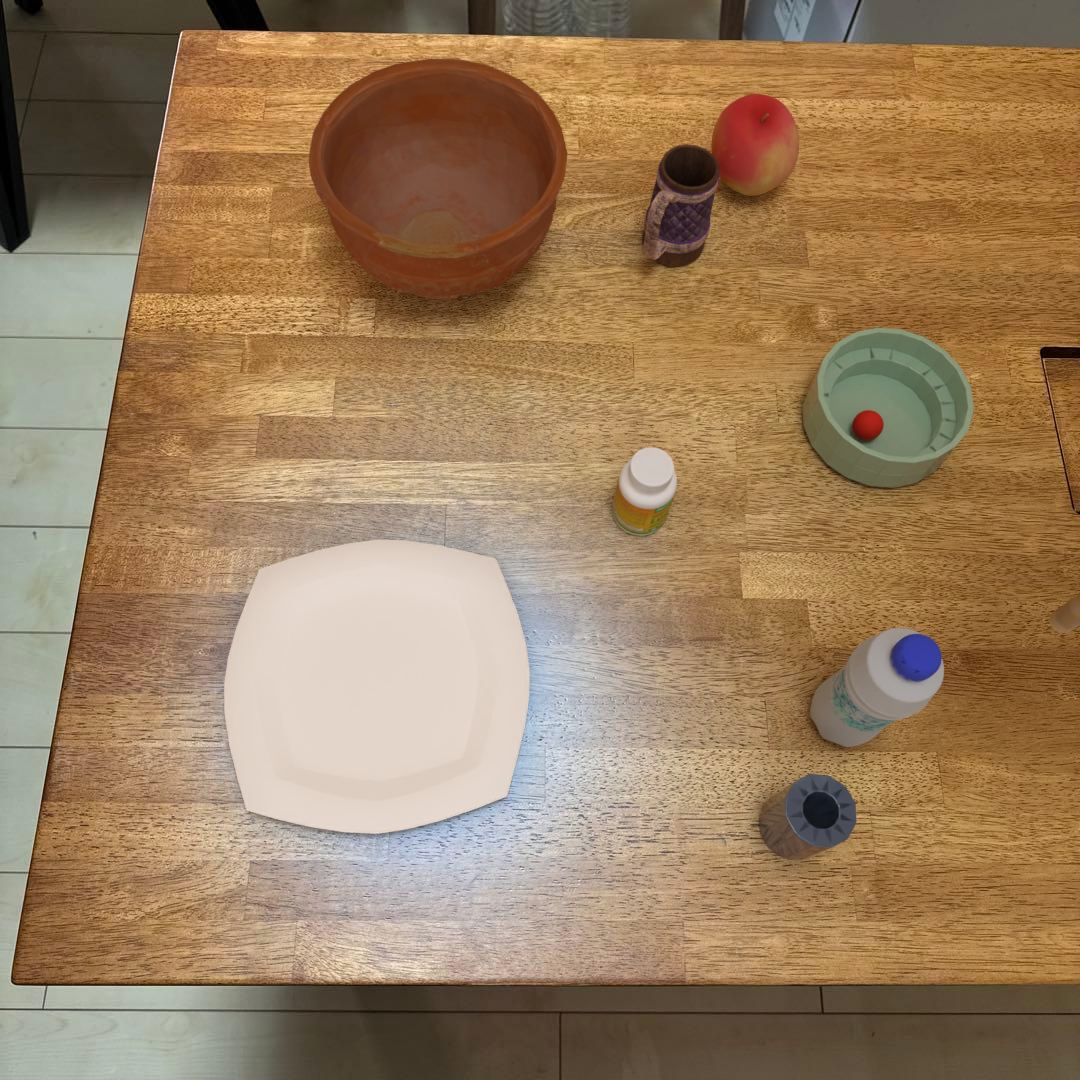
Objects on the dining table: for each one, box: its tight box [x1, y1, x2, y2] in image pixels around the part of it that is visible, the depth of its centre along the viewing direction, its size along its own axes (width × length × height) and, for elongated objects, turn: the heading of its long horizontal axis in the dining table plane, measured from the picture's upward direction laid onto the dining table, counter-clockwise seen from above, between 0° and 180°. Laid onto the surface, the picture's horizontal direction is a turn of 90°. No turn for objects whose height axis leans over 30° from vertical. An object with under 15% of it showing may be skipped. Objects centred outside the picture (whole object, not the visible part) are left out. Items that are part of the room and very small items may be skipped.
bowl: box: [308, 58, 568, 301], centre depth 105 cm, size 25×25×15 cm
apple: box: [710, 93, 800, 197], centre depth 112 cm, size 10×10×10 cm
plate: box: [223, 538, 531, 835], centre depth 91 cm, size 27×27×2 cm
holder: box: [758, 773, 858, 861], centre depth 84 cm, size 6×6×9 cm
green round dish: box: [802, 327, 975, 489], centre depth 102 cm, size 15×15×6 cm
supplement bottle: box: [611, 446, 678, 537], centre depth 95 cm, size 5×5×10 cm
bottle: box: [809, 627, 945, 748], centre depth 83 cm, size 7×7×20 cm
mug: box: [641, 144, 720, 267], centre depth 107 cm, size 10×7×12 cm
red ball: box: [852, 410, 884, 440], centre depth 102 cm, size 3×3×3 cm
